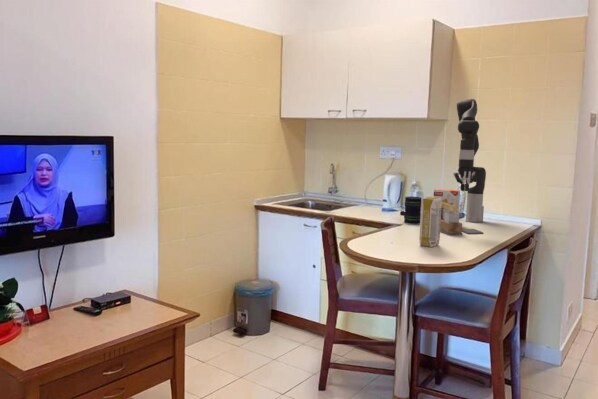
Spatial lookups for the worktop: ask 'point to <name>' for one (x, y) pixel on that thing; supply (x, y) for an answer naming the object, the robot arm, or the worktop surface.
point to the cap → (451, 217)
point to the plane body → (450, 228)
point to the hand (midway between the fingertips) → (464, 190)
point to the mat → (471, 231)
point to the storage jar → (412, 210)
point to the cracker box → (448, 198)
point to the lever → (447, 207)
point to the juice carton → (430, 221)
